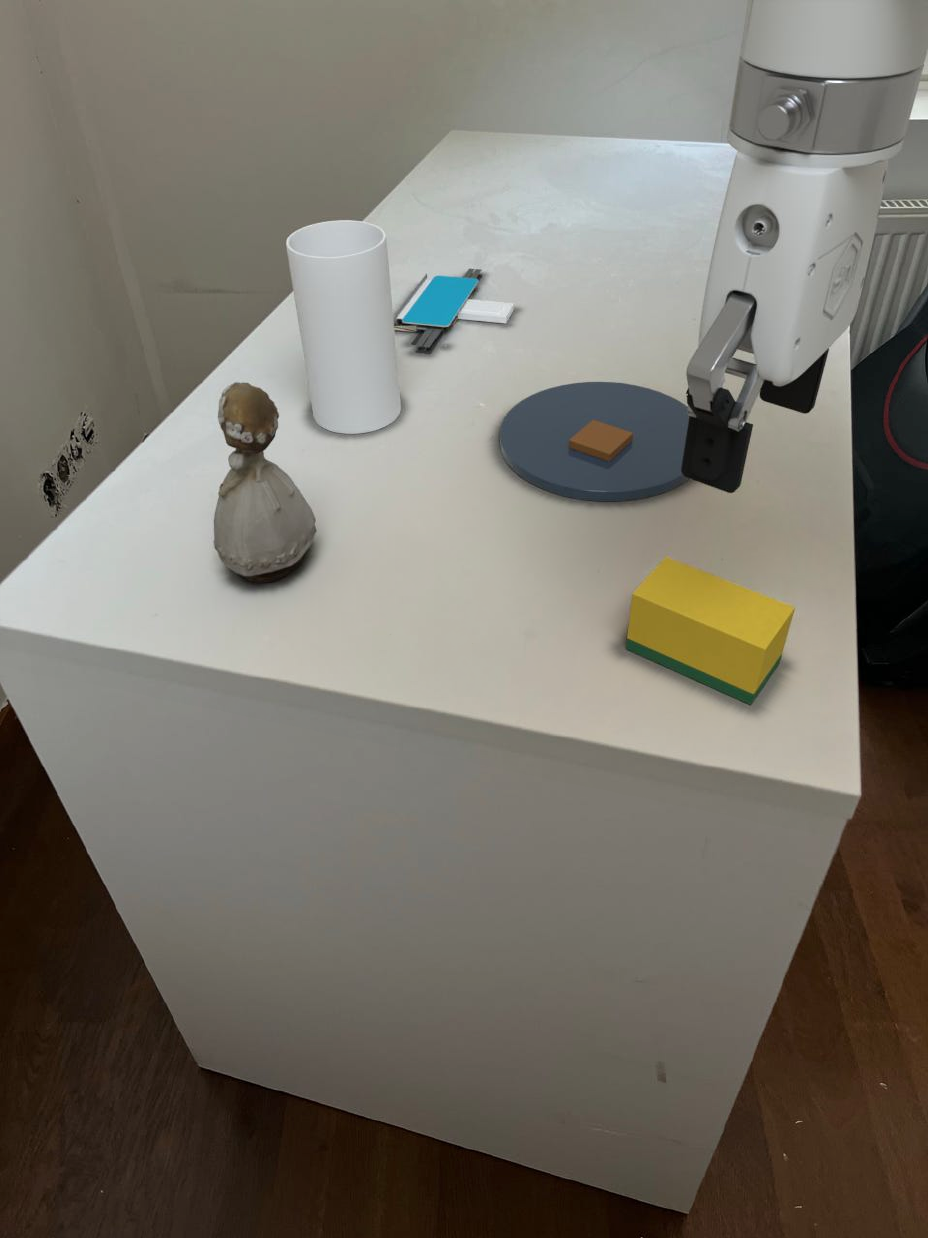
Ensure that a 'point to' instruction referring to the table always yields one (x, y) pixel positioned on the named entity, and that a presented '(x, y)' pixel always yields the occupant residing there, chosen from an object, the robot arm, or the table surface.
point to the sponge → (708, 629)
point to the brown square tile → (601, 440)
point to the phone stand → (445, 308)
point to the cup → (346, 324)
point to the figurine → (257, 494)
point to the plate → (636, 472)
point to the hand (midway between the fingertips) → (749, 441)
